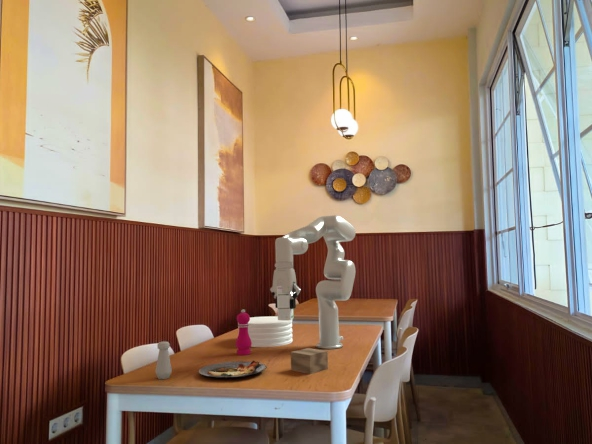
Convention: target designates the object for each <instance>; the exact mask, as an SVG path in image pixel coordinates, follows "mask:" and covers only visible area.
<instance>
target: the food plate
mask: <svg viewBox="0 0 592 444" xmlns="http://www.w3.org/2000/svg"><path fill="white" fill-rule="evenodd" d="M235 368H237V369H235ZM266 369H268V366H267V365H266V364H264V363H262V362H261V363H260V361H255V360H251V361H249V360H248V361H247V360H245V361H243V360H242V361H239V360H238V361H237V360H235V361H225V362H219V363H213V364H208V365H205V366H202V367H201V368H200V369H199V370H198V373H199V374H201V375H203V376H206V377H211V378H212V377H213V378H217V379H218V378H225V379H228V378H234V379H235V378H238V377H239V378H241V377H242V378H244V377H247V376H251V375H255V374H259V373H261V372H263V371H264V370H266ZM214 371H215V372H214Z"/></svg>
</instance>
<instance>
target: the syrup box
mask: <svg viewBox="0 0 592 444" xmlns="http://www.w3.org/2000/svg"><path fill="white" fill-rule="evenodd" d="M292 295H293V294H292ZM290 299H291V298H290V296H289V293H282V286H277V308H276V310H277V316H278V320H292V321H293V320H294V318H295V317H294V316H295V315H294V312H295V311H294V309H290Z"/></svg>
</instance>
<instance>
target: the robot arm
mask: <svg viewBox="0 0 592 444" xmlns="http://www.w3.org/2000/svg"><path fill="white" fill-rule="evenodd" d="M322 237H323V239H324V242H325V244H326V247H327V256H326V260H325V264H324V267H323V275H324V277H325V278H326V279H327V280H325V279H324V280H320V281H319V282H318V283H317V284H316V287H315V293H316V298H317V306H318V332H319V333H318V334H319V336H318V337H319V342H317V343H316V345H315V346H316V348H318V349H325V350H326V349H328V350H330V349H339V348H342V347H343V343H342V342H341V341H343V340H344V336H343V335H340V328H339V326H340V323H339V307H338V305H337V304H336V302H337V301H341V302H342V301H343V302H344V301H345V302H346V301H348V300H349V299H350V298H351V295H352V292H353V287H354V282H355V278H356V265H355V263H354V262H353V261H352V260H349V259H345V255H346V254H345V249H344V248H343V246H342V245H341V243H344V242H351V241H353V240H354V239H355V237H356V228H355V226H353V225H352V224H351V223H350V222H349V221H348V220H346V219H344V218H343V217H342V216H340V215H336V214H335V215H322V216H319V217H317V218H316V219H314V220H313V221H312V222H310V223H309V224H307V225H306V226H303V227H300V228H298V229H295V230H293V231H289V232H288V233H287V234H285V235H283V236H282V237H277V238H276V239H275V242H274V243H275V246H274V247H275V248H274V249H275V263H274V267H275V269H274V270H273V278H272V286H271V287H270V289H269V290H270V292H271V294H272V296H273V298H274V299H275V300H274V301H275V304H274V306H275V309H277V286H282V293H289V296H290V298H291V299H290V309H296V307H297V306H296V305H297V304H296V299H298V296H299V294H300V292H301V291H302V290H301V288H300V287H299V286H298V285H297V278H296V277H297V276H296V272H295V271H296V270H295V269H294V255H303V254H305V253H306V252H307V251H308V248H309V244H313V243H316V242H317V241H319V240H320V239H321V238H322ZM292 294H293V295H292Z"/></svg>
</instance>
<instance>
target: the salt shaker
mask: <svg viewBox="0 0 592 444" xmlns="http://www.w3.org/2000/svg"><path fill="white" fill-rule="evenodd" d="M170 345H171V344H170V342H169V341H159V342H158V343H157V349H158V350H159V351H158V356H157V361H156V367H155V375H156V377H157V379H158V380H167V378H168V379H169V378H170V377H171V375H172V371H173V370H172V365H171V358H170V353H169V348H170Z"/></svg>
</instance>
